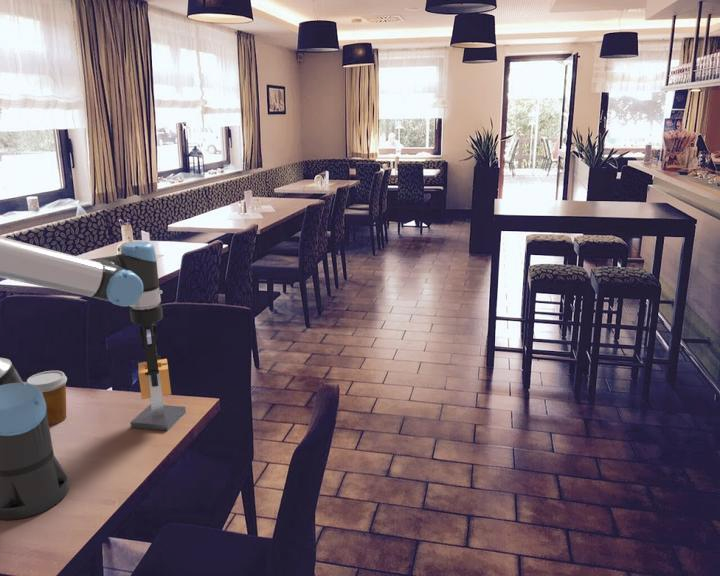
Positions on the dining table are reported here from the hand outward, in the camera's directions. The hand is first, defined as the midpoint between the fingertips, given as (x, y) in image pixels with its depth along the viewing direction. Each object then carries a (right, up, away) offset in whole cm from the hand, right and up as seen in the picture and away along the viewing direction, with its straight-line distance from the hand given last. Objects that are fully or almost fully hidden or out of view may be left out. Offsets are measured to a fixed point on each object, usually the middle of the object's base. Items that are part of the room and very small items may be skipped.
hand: (156, 390), depth 153 cm
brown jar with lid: (-28, -8, +3) cm, 29 cm away
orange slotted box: (0, 0, 0) cm, 0 cm away
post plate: (0, -8, +2) cm, 8 cm away
